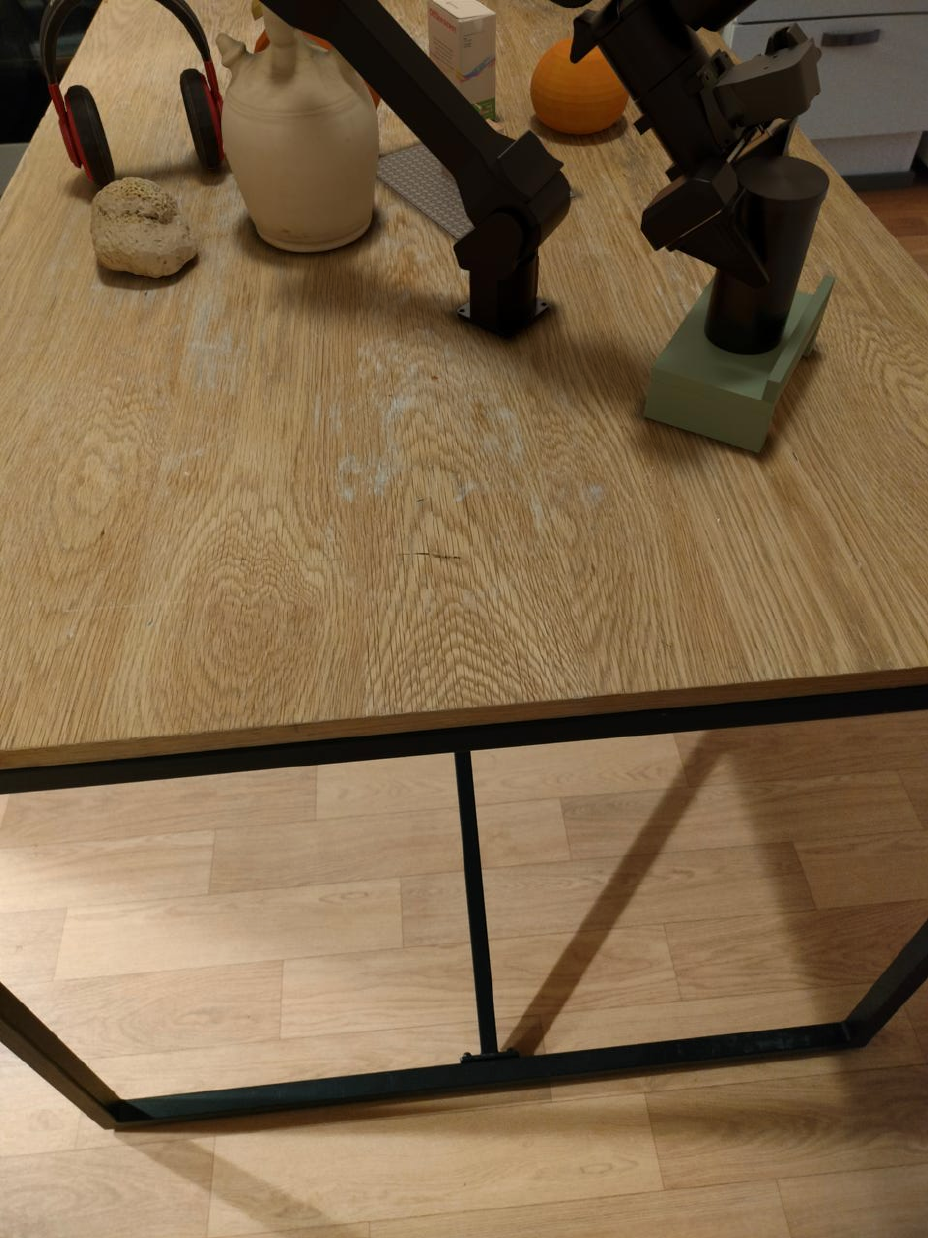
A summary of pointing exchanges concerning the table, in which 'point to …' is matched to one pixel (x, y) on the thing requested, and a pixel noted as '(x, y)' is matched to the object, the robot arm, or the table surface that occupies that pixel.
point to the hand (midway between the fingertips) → (781, 255)
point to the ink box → (465, 48)
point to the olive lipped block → (730, 374)
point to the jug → (299, 139)
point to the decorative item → (140, 229)
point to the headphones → (82, 114)
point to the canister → (767, 252)
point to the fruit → (576, 91)
